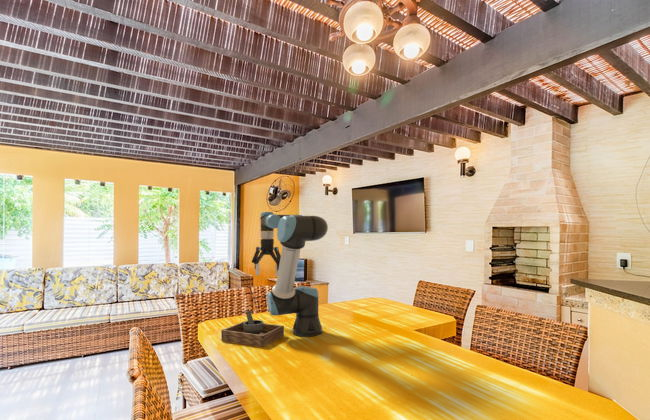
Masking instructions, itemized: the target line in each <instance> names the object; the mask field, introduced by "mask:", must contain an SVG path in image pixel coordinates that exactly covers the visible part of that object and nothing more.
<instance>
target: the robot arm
mask: <svg viewBox="0 0 650 420" xmlns="http://www.w3.org/2000/svg"><path fill="white" fill-rule="evenodd" d="M259 219H260V246H256V248H255V252H254V254H253V257H252V260H251V263H253V264H254V270H255V276H260V275H261V274H260V272H261V271H260V261H261V260H262V258H263V257H264V256H266V255H267V256H270V257H271V258H272V259H273V261H274V263H275V272H274V273H275V277H277V278H276V282H275V284H274V285H273V287H272V289H271V291H268V292H266V306H267V310H268V312H269V314H270V315H271V316H272V317H273V316H283V315H291V314H295V320H294V323H293V326H292V335H295V336H298V337H314V336H319V335H321V334H322V333H323V326H322V324H321V319H320V318H319V317H320V316H319V290H318V289H317V288H316V287H314V286H313V287H312V286H305V285H297V286H296V287H294V285H295V280H296V275H297V269H298V265H299V259H300V255H301V250H302V249H303V248H304V247H306V246H305V245H306V242H315V241H318V240H321V239H322V238H324V237H325V236H326V235H327V232H328V227H329V226H328V223H327V221H326V220H325V219H324V218H323V217H321V216H318V215H302V214H274V212H272V211H262V212H261V213H260V217H259ZM275 229H276V230H277V232H276V237H277V240H278V242H279V244H280V245H281V246H282V247H281V252H280V251H279V247H278V246H274V244H275V240H274V234H275V233H274V230H275Z"/></svg>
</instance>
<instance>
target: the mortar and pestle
mask: <svg viewBox="0 0 650 420" xmlns="http://www.w3.org/2000/svg"><path fill="white" fill-rule="evenodd" d="M245 315H246V322H244V321H243V322H244V323H243V328H244V331H245V333H250V334H258V335H260V334H259V333H260V332H261V331H262V328H263V323H264V321H263V320H261V319H254V318H253V315H252V311H251V310H247V311H245Z"/></svg>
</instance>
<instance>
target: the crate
mask: <svg viewBox="0 0 650 420" xmlns="http://www.w3.org/2000/svg"><path fill="white" fill-rule="evenodd" d="M246 321H247V320H246ZM246 321H242V322H240V323H236V324H234V325H231V326H229V327H226V328H223V329H222V330H221V335H220V336H221V339H220V340H221V342H226V343H233V344H239V345H246V346H253V347H259V348H264V347H266V346H268V345H270V344H272V343H273V342H276V341H277V340H279V339H282V338H283V337H284V336H285V326H284V325H280V324H279V325H278V324H270V323H264V322H263V328H262V331H261V332H260V333H259V334H260V335H258V334H250V333H245V331H244V328H243V323H244V322H246ZM275 340H276V341H275Z"/></svg>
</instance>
